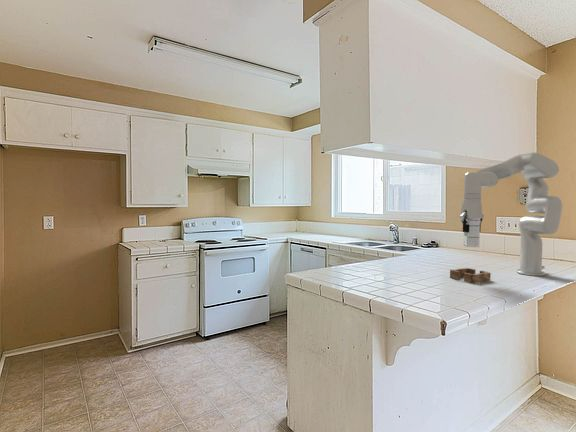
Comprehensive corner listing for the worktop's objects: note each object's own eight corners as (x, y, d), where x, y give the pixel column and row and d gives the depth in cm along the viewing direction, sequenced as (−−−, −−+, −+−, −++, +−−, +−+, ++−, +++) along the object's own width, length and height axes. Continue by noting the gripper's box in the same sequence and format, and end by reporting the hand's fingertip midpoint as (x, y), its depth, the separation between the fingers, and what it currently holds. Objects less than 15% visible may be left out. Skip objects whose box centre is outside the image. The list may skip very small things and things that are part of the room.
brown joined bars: (466, 275, 176) (466, 267, 176) (491, 280, 164) (491, 272, 164) (448, 277, 170) (449, 270, 170) (473, 283, 158) (473, 275, 158)
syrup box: (479, 247, 163) (480, 218, 162) (466, 247, 164) (467, 218, 163) (475, 246, 168) (476, 217, 168) (463, 245, 170) (463, 217, 169)
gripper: (476, 197, 172) (475, 230, 173) (454, 197, 165) (453, 231, 165) (490, 197, 166) (489, 231, 166) (467, 196, 158) (467, 233, 159)
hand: (471, 231), depth 166 cm, fingers closed on syrup box, 8 cm apart
